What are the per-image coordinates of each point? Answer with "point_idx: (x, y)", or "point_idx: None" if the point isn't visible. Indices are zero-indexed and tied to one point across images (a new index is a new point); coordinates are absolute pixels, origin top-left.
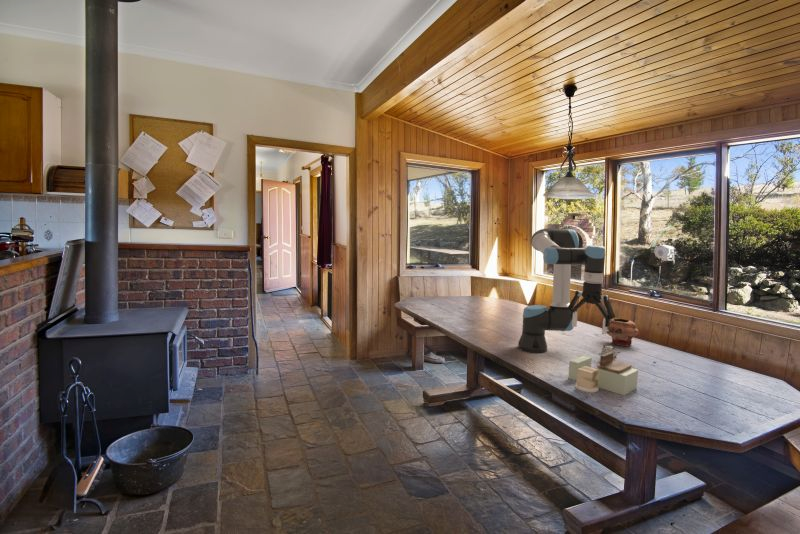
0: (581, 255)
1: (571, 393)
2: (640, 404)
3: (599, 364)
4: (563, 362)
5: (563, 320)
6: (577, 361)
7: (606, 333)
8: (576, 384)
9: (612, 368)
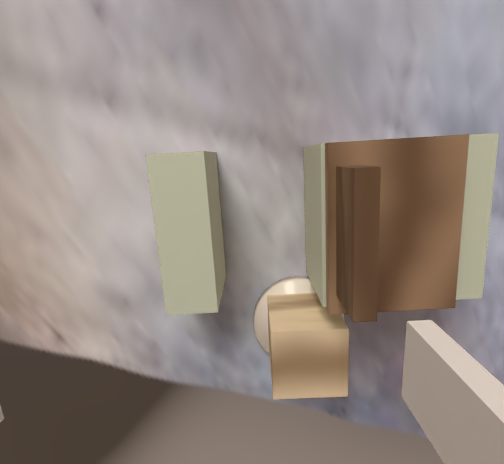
0: None
1: (288, 402)
2: (501, 297)
3: (332, 292)
4: (21, 88)
5: None
6: (199, 291)
7: (431, 328)
8: (265, 345)
9: (412, 296)
